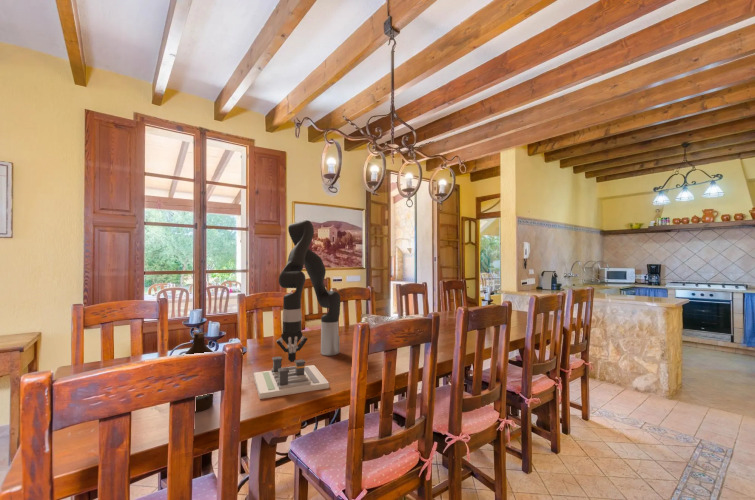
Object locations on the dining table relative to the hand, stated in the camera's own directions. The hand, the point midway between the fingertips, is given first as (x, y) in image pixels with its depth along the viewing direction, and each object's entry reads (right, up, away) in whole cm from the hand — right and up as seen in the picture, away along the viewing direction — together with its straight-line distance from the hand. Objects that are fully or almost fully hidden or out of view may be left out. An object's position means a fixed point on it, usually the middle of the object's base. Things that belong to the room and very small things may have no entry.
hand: (291, 361), depth 139 cm
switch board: (-1, -9, 0) cm, 9 cm away
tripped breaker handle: (+3, -6, +1) cm, 7 cm away
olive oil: (-26, -8, -23) cm, 36 cm away
